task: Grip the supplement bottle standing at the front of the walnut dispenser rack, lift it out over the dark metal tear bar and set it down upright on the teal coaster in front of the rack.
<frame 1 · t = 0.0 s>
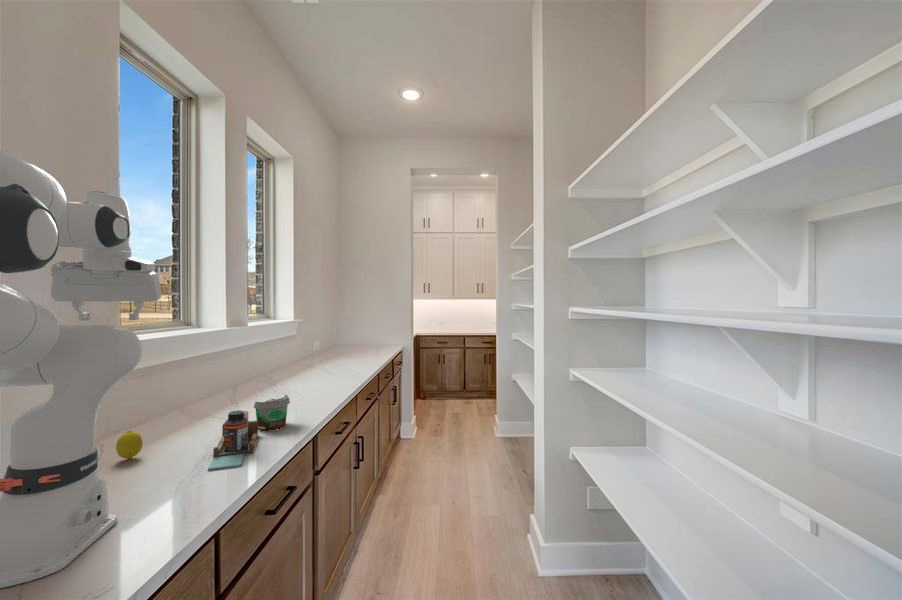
hand: (110, 320, 94), 39 cm above the countertop, tool pointing down, fingers open, 8 cm apart
peach capsule: (238, 442, 120), resting in rack
rack: (237, 446, 116), on the countertop
supplement bottle: (235, 451, 113), resting in rack
food container: (275, 429, 133), on the countertop
coaster: (226, 463, 104), on the countertop
lemon: (129, 460, 106), on the countertop
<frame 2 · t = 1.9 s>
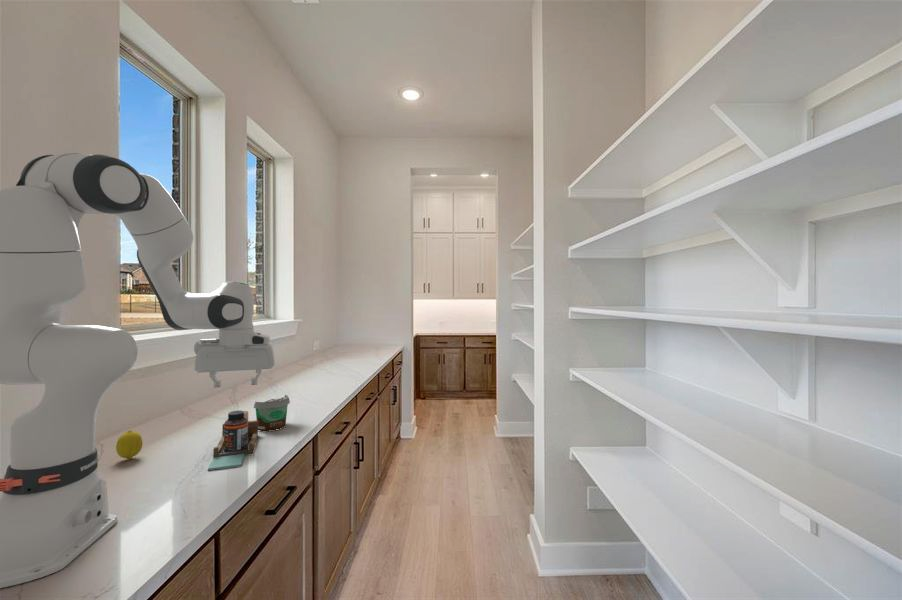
hand: (236, 385, 113), 19 cm above the countertop, tool pointing down, fingers open, 8 cm apart
nothing on the countertop moved.
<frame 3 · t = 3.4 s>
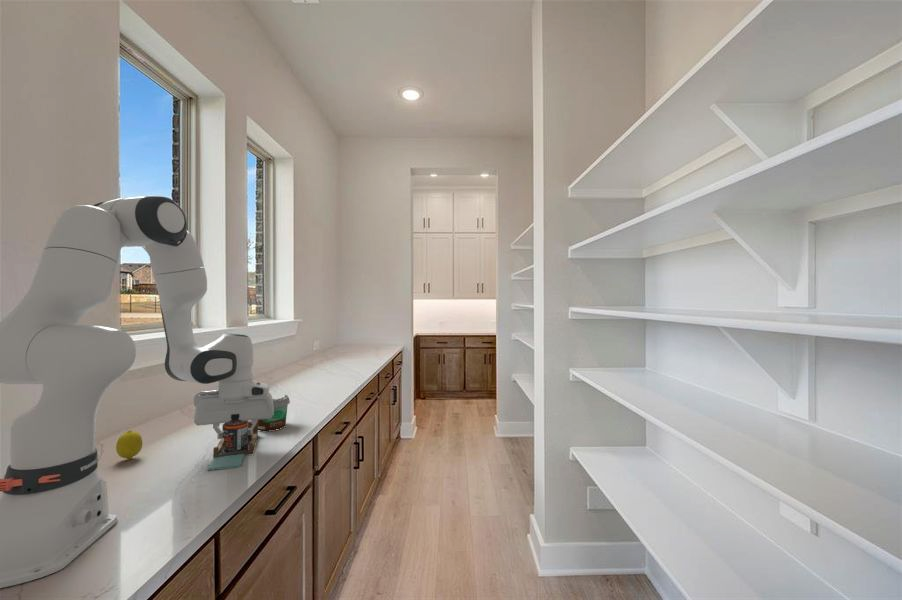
hand: (235, 436, 113), 4 cm above the countertop, tool pointing down, fingers closed on supplement bottle, 6 cm apart
supplement bottle: (235, 451, 113), resting in rack, touching gripper
everything else where it was.
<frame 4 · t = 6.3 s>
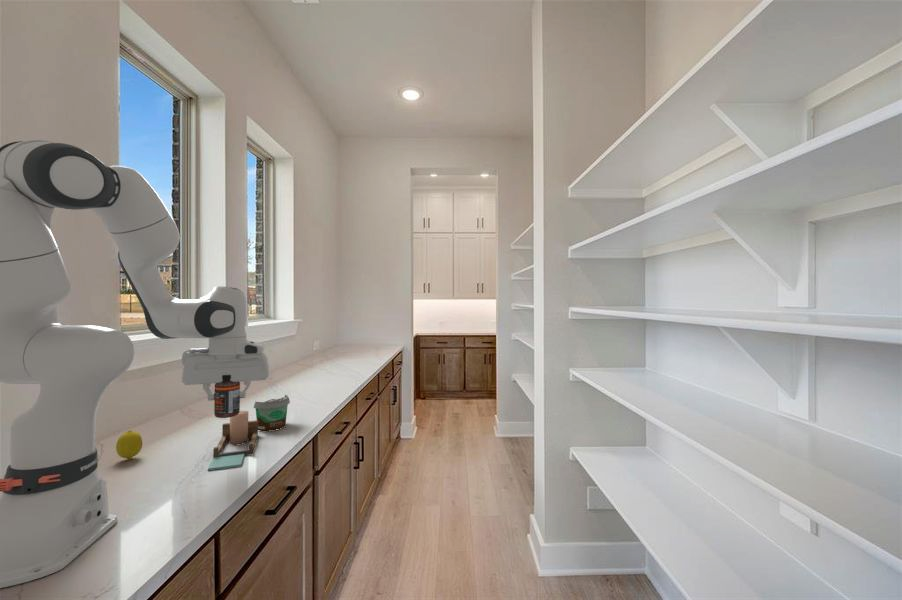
hand: (227, 398, 104), 17 cm above the countertop, tool pointing down, fingers closed on supplement bottle, 6 cm apart
supplement bottle: (227, 416, 104), point 13 cm above the countertop, touching gripper
everything else where it was.
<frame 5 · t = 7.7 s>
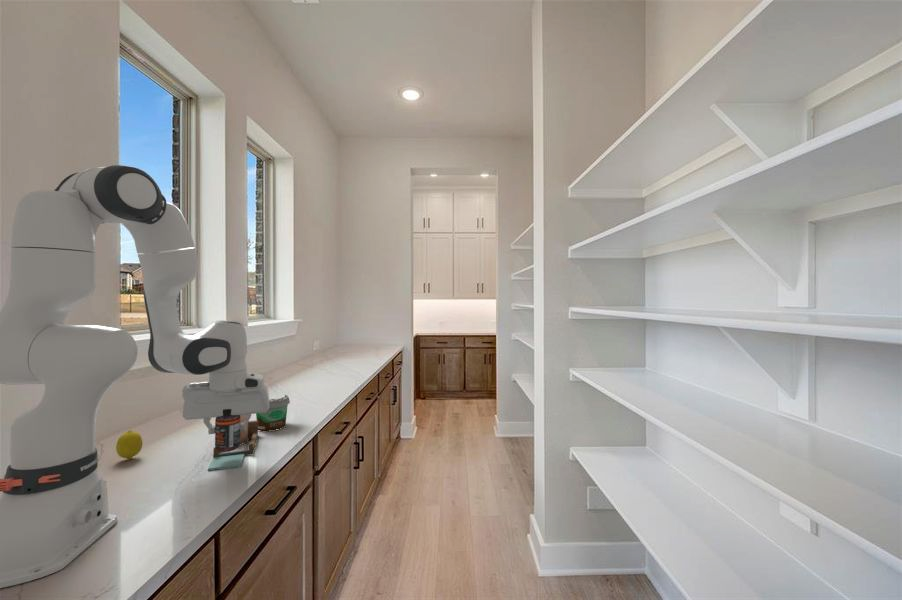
hand: (227, 431, 105), 8 cm above the countertop, tool pointing down, fingers closed on supplement bottle, 6 cm apart
supplement bottle: (227, 449, 105), point 4 cm above the countertop, touching gripper
everything else where it was.
when the fingers open (6 cm above the countertop, at t = 8.8 s): supplement bottle stays where it is, resting on coaster.
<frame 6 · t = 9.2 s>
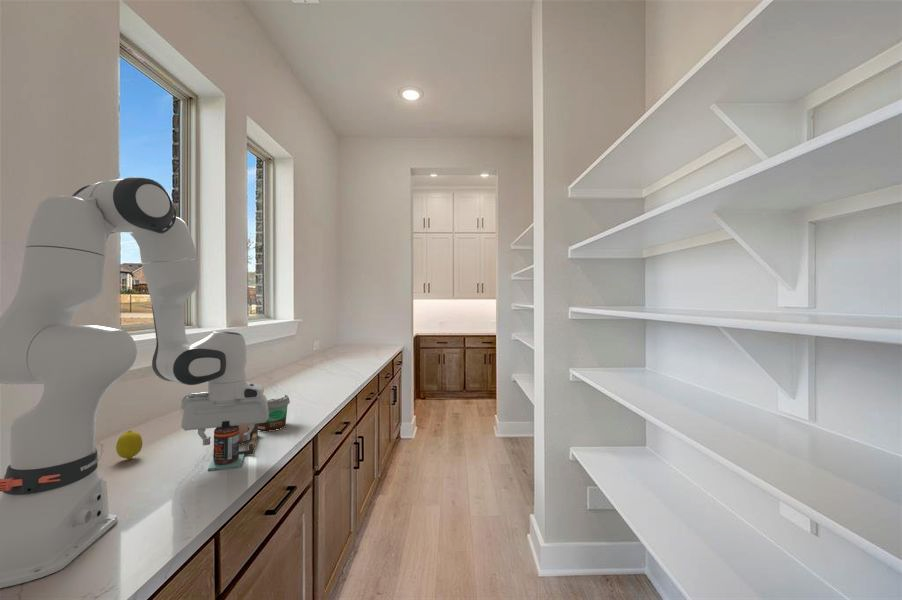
hand: (227, 442, 104), 6 cm above the countertop, tool pointing down, fingers open, 8 cm apart
supplement bottle: (226, 461, 104), resting on coaster
everything else where it was.
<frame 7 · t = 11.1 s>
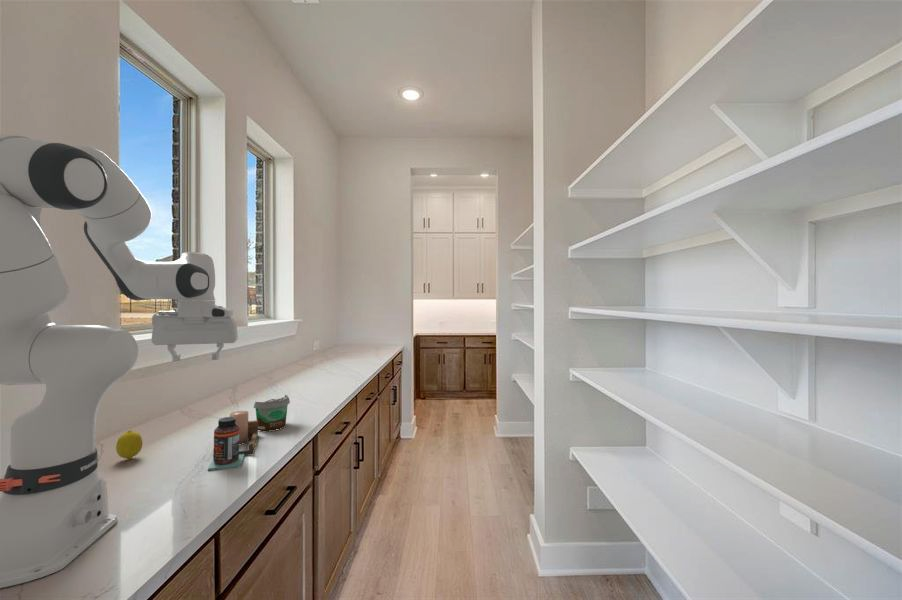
hand: (196, 360, 109), 27 cm above the countertop, tool pointing down, fingers open, 8 cm apart
nothing on the countertop moved.
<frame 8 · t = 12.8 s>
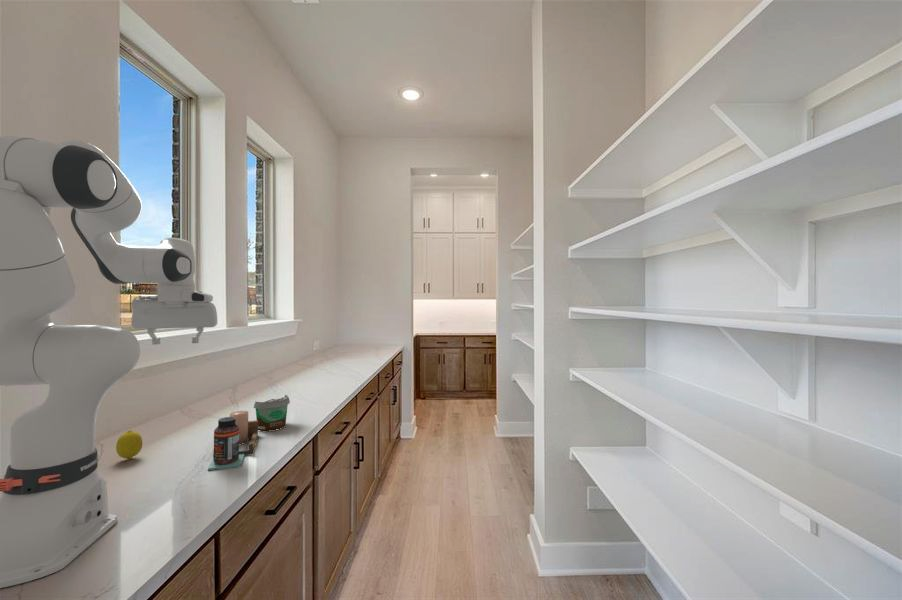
hand: (176, 343, 112), 31 cm above the countertop, tool pointing down, fingers open, 8 cm apart
nothing on the countertop moved.
at the end: supplement bottle inside the target area on the coaster (0.1 cm from its centre), point 0.4 cm above the coaster's base; supplement bottle tilted 0°; the gripper is holding nothing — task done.
